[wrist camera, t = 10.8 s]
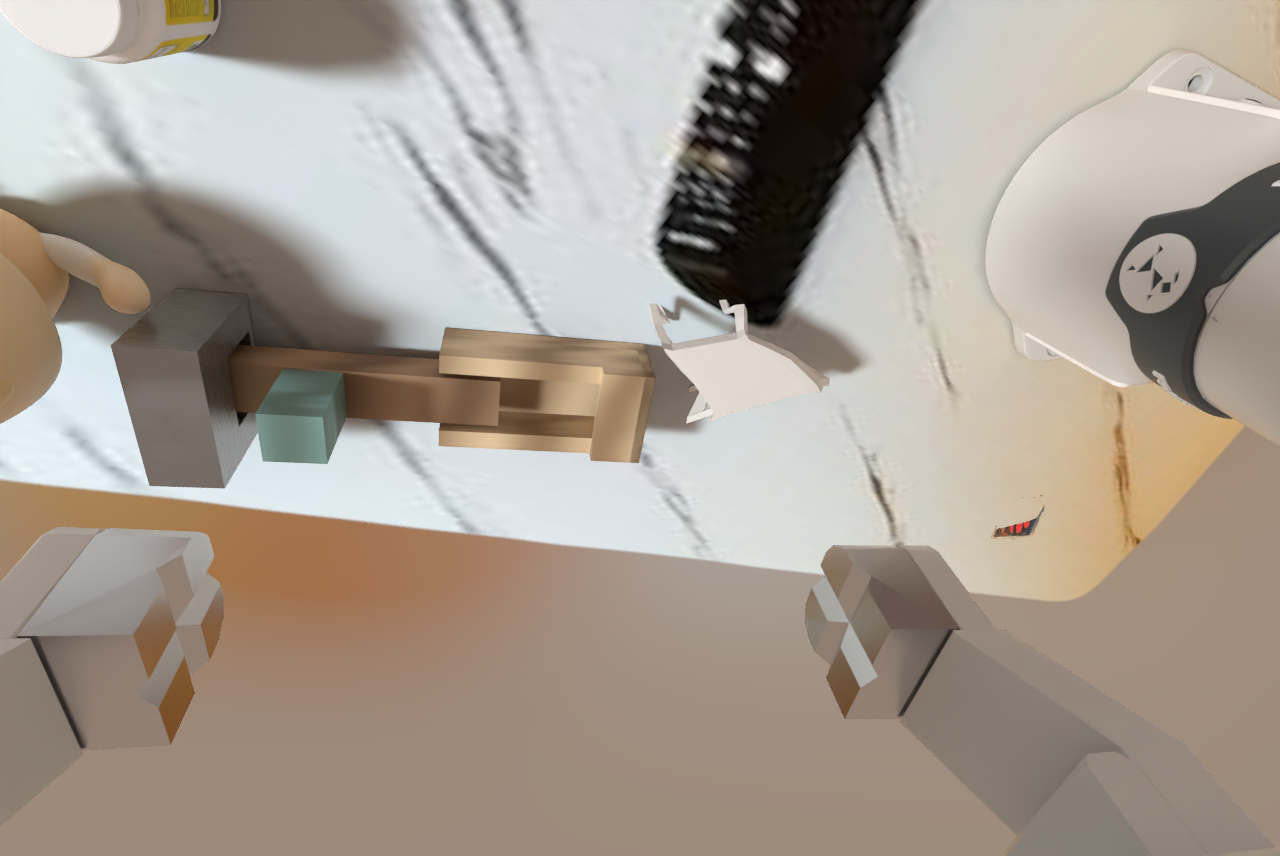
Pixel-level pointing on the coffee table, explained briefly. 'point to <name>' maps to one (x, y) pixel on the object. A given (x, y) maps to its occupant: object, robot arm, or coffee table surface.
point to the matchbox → (1017, 529)
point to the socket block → (187, 387)
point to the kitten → (47, 304)
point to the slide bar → (347, 396)
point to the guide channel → (554, 393)
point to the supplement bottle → (115, 26)
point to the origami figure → (736, 368)
